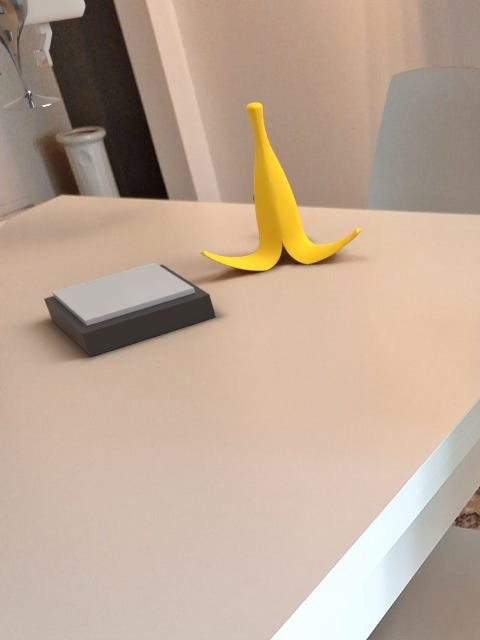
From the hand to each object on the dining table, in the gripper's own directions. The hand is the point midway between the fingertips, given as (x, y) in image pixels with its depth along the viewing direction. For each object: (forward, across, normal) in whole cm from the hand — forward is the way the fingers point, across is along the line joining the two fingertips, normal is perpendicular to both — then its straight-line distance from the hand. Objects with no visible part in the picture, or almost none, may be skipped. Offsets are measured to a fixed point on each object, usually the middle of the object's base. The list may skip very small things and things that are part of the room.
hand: (20, 71), depth 116 cm
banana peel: (+20, -17, +36) cm, 44 cm away
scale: (+20, +6, +38) cm, 44 cm away
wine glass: (+4, 0, 0) cm, 4 cm away
